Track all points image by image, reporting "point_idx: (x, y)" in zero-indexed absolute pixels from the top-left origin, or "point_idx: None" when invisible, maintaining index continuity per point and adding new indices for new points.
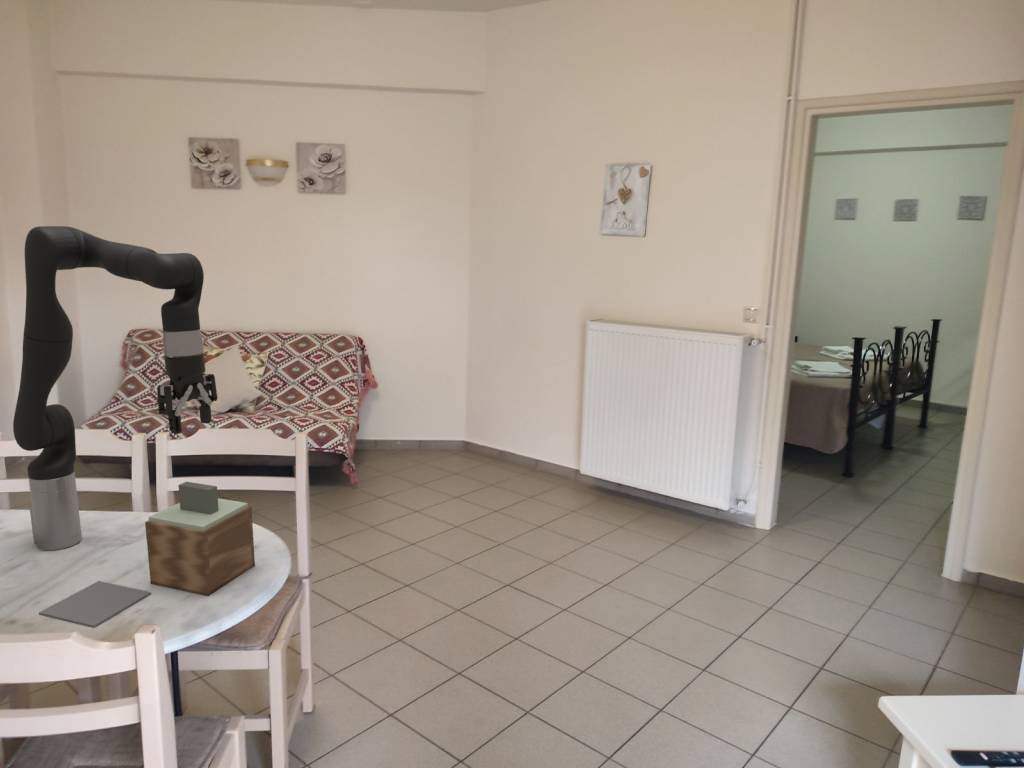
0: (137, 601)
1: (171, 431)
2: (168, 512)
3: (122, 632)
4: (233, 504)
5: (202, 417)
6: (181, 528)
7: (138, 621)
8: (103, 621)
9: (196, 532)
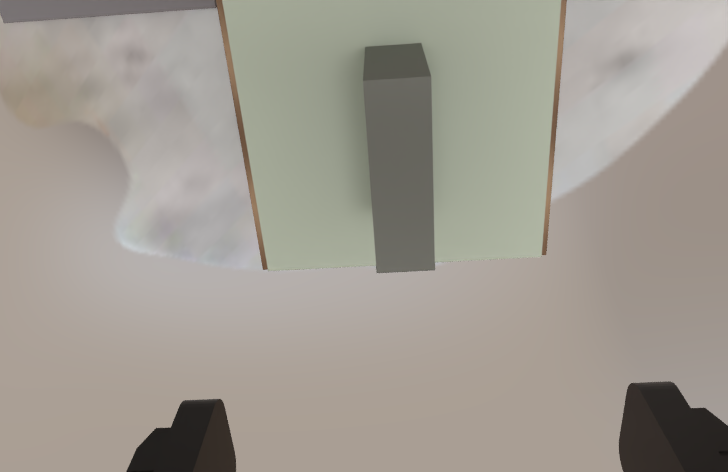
0: (161, 11)
1: (182, 409)
2: (308, 26)
3: (46, 112)
4: (507, 217)
5: (649, 449)
6: (247, 172)
7: (102, 104)
8: (36, 20)
9: (259, 237)
